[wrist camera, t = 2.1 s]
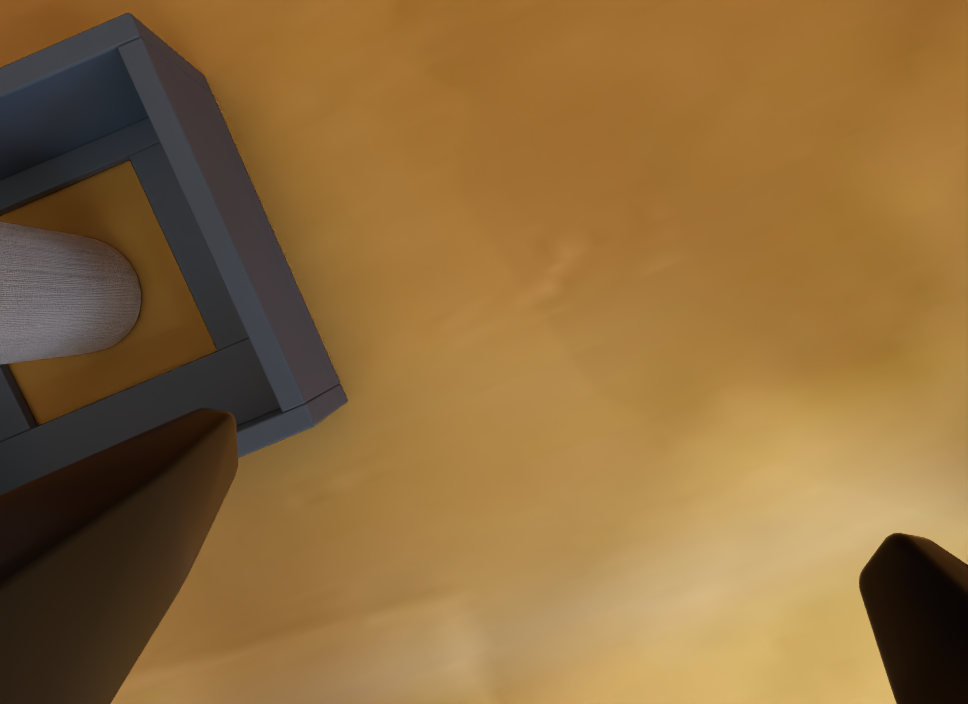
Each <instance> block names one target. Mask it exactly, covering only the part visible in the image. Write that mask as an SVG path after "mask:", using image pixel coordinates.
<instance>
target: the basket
mask: <svg viewBox="0 0 968 704" xmlns="http://www.w3.org/2000/svg"><path fill="white" fill-rule="evenodd" d="M128 160H130V161H131V163H132V166H133V168H134V170H135V172H136V174H137V176H138V179H139V181H140V183H141V185H142V187H143V189H144V192H145V194H146V196H147V198H148V200H149V203H150V205H151V207H152V209H153V211H154V213H155V216H156V218H157V220H158V222H159V224H160V226H161V229H162V231H163V233H164V235H165V237H166V240H167V242H168V244H169V246H170V248H171V250H172V253H173V255H174V257H175V259H176V261H177V263H178V266H179V268H180V270H181V272H182V274H183V276H184V279H185V281H186V283H187V285H188V287H189V290H190V292H191V294H192V296H193V298H194V300H195V303H196V305H197V307H198V309H199V311H200V313H201V316H202V318H203V320H204V322H205V324H206V327H207V329H208V331H209V333H210V335H211V337H212V340H213V342H214V344H215V346H216V348H217V350H219V351H216V352H214V353H212V354H209V355H207V356H204V357H202V358H200V359H197V360H195V361H192V362H190V363H188V364H185V365H183V366H180V367H178V368H176V369H173V370H171V371H169V372H166V373H164V374H161V375H159V376H157V377H154V378H152V379H149V380H147V381H145V382H142V383H140V384H138V385H135V386H133V387H130V388H128V389H126V390H123V391H121V392H118V393H116V394H114V395H111V396H109V397H106V398H104V399H102V400H99V401H97V402H95V403H92V404H90V405H87V406H85V407H83V408H80V409H78V410H75V411H73V412H71V413H68V414H66V415H63V416H61V417H59V418H56V419H54V420H52V421H49V422H47V423H44V424H42V425H40V426H37V424H36V422H35V420H34V418H33V416H32V414H31V412H30V410H29V408H28V406H27V404H26V402H25V400H24V398H23V396H22V394H21V392H20V390H19V388H18V386H17V384H16V382H15V380H14V378H13V376H12V374H11V372H10V370H9V368H8V366H7V364H1V365H0V494H2V493H4V492H7V491H9V490H11V489H14V488H16V487H18V486H20V485H23V484H25V483H27V482H30V481H32V480H34V479H37V478H39V477H41V476H44V475H46V474H48V473H50V472H53V471H55V470H57V469H60V468H62V467H64V466H67V465H69V464H71V463H74V462H76V461H78V460H80V459H83V458H85V457H87V456H90V455H92V454H94V453H97V452H99V451H101V450H104V449H106V448H108V447H110V446H113V445H115V444H117V443H120V442H122V441H124V440H127V439H129V438H131V437H134V436H136V435H138V434H140V433H143V432H145V431H147V430H150V429H152V428H154V427H157V426H159V425H161V424H164V423H166V422H168V421H170V420H173V419H175V418H177V417H180V416H182V415H184V414H187V413H189V412H191V411H194V410H196V409H199V408H211V409H216V410H222V411H227V412H230V413H231V414H233V415H234V417H235V420H236V430H237V448H238V458H239V457H242V456H244V455H247V454H249V453H251V452H254V451H256V450H259V449H261V448H264V447H266V446H268V445H271V444H273V443H276V442H278V441H280V440H283V439H285V438H288V437H290V436H293V435H295V434H297V433H300V432H302V431H305V430H307V429H309V428H312V427H314V426H315V425H317V424H318V423H319V422H321V421H322V420H323V419H325V418H326V417H327V416H329V415H330V414H331V413H333V412H334V411H335V410H337V409H338V408H339V407H341V406H342V405H343V404H345V403H346V402H347V398H346V395H345V393H344V391H343V388H342V386H341V385H340V384H339V383H340V381H339V379H338V377H337V375H336V372H335V370H334V368H333V366H332V363H331V361H330V359H329V357H328V354H327V352H326V350H325V347H324V345H323V343H322V341H321V338H320V336H319V334H318V332H317V329H316V327H315V325H314V323H313V320H312V318H311V316H310V314H309V311H308V309H307V307H306V305H305V302H304V300H303V298H302V295H301V293H300V291H299V289H298V286H297V284H296V282H295V280H294V277H293V275H292V273H291V271H290V268H289V266H288V264H287V262H286V259H285V257H284V255H283V252H282V250H281V248H280V246H279V243H278V241H277V239H276V237H275V234H274V232H273V230H272V228H271V225H270V223H269V221H268V219H267V216H266V214H265V212H264V209H263V207H262V205H261V203H260V200H259V198H258V196H257V194H256V191H255V189H254V187H253V185H252V182H251V180H250V178H249V176H248V173H247V171H246V169H245V167H244V164H243V162H242V160H241V157H240V155H239V153H238V151H237V148H236V146H235V144H234V142H233V139H232V137H231V135H230V133H229V130H228V128H227V126H226V124H225V121H224V119H223V117H222V114H221V112H220V110H219V108H218V105H217V103H216V101H215V99H214V96H213V95H212V94H211V90H210V88H209V86H208V83H207V81H206V79H205V77H204V75H203V74H202V73H200V72H199V71H198V70H197V69H196V68H194V67H193V66H192V65H191V64H190V63H189V62H187V61H186V60H185V59H184V58H183V57H181V56H180V55H179V54H178V53H177V52H176V51H174V50H173V49H172V48H171V47H170V46H168V45H167V44H166V43H165V42H164V41H162V40H161V39H160V38H159V37H158V36H157V35H155V34H154V33H153V32H152V31H151V30H149V29H148V28H147V27H146V26H145V25H143V24H142V23H141V22H140V21H139V20H138V19H136V18H135V17H134V16H133V15H132V14H130V13H125V14H123V15H121V16H119V17H116V18H114V19H112V20H109V21H107V22H105V23H102V24H100V25H98V26H95V27H93V28H91V29H89V30H86V31H84V32H82V33H79V34H77V35H75V36H72V37H70V38H68V39H65V40H63V41H61V42H59V43H56V44H54V45H52V46H49V47H47V48H45V49H42V50H40V51H38V52H35V53H33V54H31V55H29V56H26V57H24V58H22V59H19V60H17V61H15V62H12V63H10V64H8V65H5V66H3V67H1V68H0V215H1V214H4V213H6V212H8V211H11V210H13V209H15V208H18V207H20V206H22V205H25V204H27V203H29V202H32V201H34V200H36V199H39V198H41V197H43V196H46V195H48V194H50V193H53V192H55V191H57V190H60V189H62V188H64V187H67V186H69V185H71V184H74V183H76V182H79V181H81V180H83V179H86V178H88V177H90V176H93V175H95V174H97V173H100V172H102V171H104V170H107V169H109V168H111V167H114V166H116V165H118V164H121V163H123V162H125V161H128Z"/></svg>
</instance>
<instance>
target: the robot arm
mask: <svg viewBox="0 0 968 704" xmlns="http://www.w3.org/2000/svg"><path fill="white" fill-rule="evenodd" d="M237 466H238V448H237V430H236V420H235V417H234V415H233V414H231V413H230V412H227V411H222V410H216V409H211V408H199V409H196V410H194V411H191V412H189V413H187V414H184V415H182V416H180V417H177V418H175V419H173V420H170V421H168V422H166V423H164V424H161V425H159V426H157V427H154V428H152V429H150V430H147V431H145V432H143V433H140V434H138V435H136V436H134V437H131V438H129V439H127V440H124V441H122V442H120V443H117V444H115V445H113V446H110V447H108V448H106V449H104V450H101V451H99V452H97V453H94V454H92V455H90V456H87V457H85V458H83V459H80V460H78V461H76V462H74V463H71V464H69V465H67V466H64V467H62V468H60V469H57V470H55V471H53V472H50V473H48V474H46V475H44V476H41V477H39V478H37V479H34V480H32V481H30V482H27V483H25V484H23V485H20V486H18V487H16V488H14V489H11V490H9V491H7V492H4V493H2V494H0V704H110V703H111V702H112V700H113V698H114V697H115V695H116V694H117V692H118V690H119V689H120V687H121V685H122V684H123V682H124V680H125V679H126V677H127V676H128V674H129V672H130V671H131V669H132V667H133V666H134V664H135V662H136V661H137V659H138V658H139V656H140V654H141V653H142V651H143V649H144V648H145V646H146V645H147V643H148V641H149V640H150V638H151V636H152V635H153V633H154V631H155V630H156V628H157V627H158V625H159V623H160V622H161V620H162V618H163V617H164V615H165V614H166V612H167V610H168V609H169V607H170V605H171V604H172V602H173V600H174V599H175V597H176V595H177V594H178V592H179V590H180V588H181V587H182V585H183V583H184V582H185V580H186V578H187V576H188V574H189V572H190V570H191V568H192V566H193V564H194V562H195V560H196V557H197V555H198V553H199V551H200V549H201V547H202V545H203V543H204V541H205V538H206V536H207V534H208V532H209V530H210V528H211V526H212V524H213V522H214V519H215V517H216V515H217V513H218V511H219V509H220V507H221V505H222V503H223V500H224V498H225V496H226V494H227V492H228V490H229V488H230V486H231V484H232V481H233V479H234V477H235V474H236V471H237ZM859 587H860V592H861V595H862V598H863V601H864V605H865V608H866V611H867V614H868V617H869V620H870V623H871V626H872V629H873V633H874V636H875V639H876V642H877V645H878V648H879V651H880V654H881V658H882V661H883V664H884V667H885V670H886V673H887V676H888V679H889V683H890V686H891V689H892V691H893V694H894V697H895V700H896V703H897V704H968V565H967V564H965V563H964V562H962V561H961V560H960V559H958V558H957V557H955V556H954V555H952V554H951V553H949V552H948V551H946V550H945V549H943V548H942V547H940V546H939V545H937V544H936V543H934V542H933V541H931V540H929V539H927V538H924V537H919V536H914V535H908V534H903V533H894V534H892V535H890V536H888V537H887V538H886V539H885V540H884V541H883V543H882V544H881V545H880V547H879V548H878V549H877V551H876V552H875V553H874V555H873V556H872V557H871V559H870V560H869V562H868V563H867V564H866V566H865V567H864V568H863V570H862V572H861V574H860V578H859Z"/></svg>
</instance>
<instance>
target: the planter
mask: <svg viewBox="0 0 968 704" xmlns="http://www.w3.org/2000/svg"><path fill="white" fill-rule="evenodd" d="M140 306H141V290H140V285H139V281H138V278H137V276H136V273H135V271H134V269H133V268H132V266H131V264H130V263H129V262H128V260H127V259H126V258H125V257H124V256H123V255H122V254H121V253H120V252H119V251H118V250H116V249H115V248H113V247H112V246H110V245H109V244H107V243H105V242H102V241H99V240H96V239H93V238H89V237H85V236H81V235H75V234H70V233H64V232H58V231H52V230H47V229H41V228H35V227H29V226H24V225H18V224H12V223H6V222H1V221H0V365H1V364H9V363H17V362H25V361H33V360H41V359H48V358H56V357H64V356H72V355H80V354H87V353H92V352H97V351H101V350H104V349H107V348H110V347H112V346H114V345H115V344H117V343H118V342H120V341H121V340H122V339H123V338H125V337H126V336H127V334H128V333H129V332H130V331H131V329H132V328H133V326H134V324H135V323H136V320H137V318H138V315H139V311H140Z"/></svg>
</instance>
